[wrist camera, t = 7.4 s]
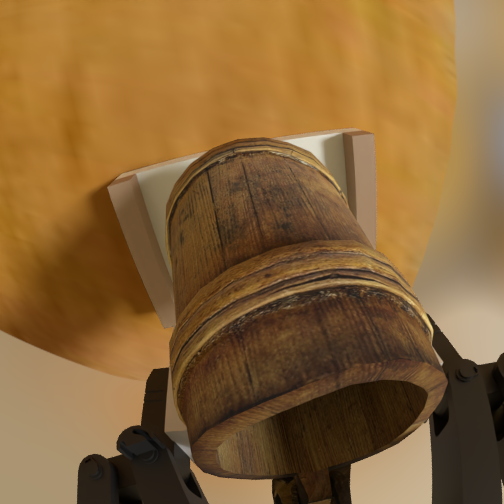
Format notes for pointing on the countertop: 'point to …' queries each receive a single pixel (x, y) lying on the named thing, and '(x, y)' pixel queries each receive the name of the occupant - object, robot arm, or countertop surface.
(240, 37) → the countertop surface
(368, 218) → the ledge board
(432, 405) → the wooden mug
